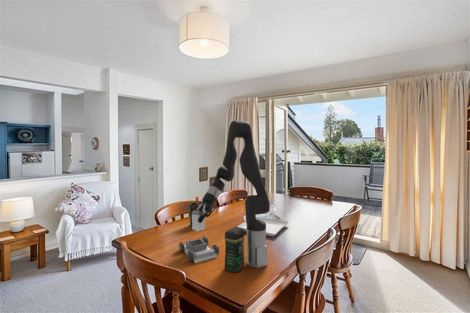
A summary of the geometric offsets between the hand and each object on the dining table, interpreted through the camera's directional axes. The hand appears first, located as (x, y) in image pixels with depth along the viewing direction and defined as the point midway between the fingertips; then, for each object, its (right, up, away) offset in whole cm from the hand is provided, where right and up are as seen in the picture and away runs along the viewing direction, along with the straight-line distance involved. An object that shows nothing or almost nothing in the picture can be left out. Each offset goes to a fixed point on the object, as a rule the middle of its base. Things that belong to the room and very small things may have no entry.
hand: (195, 221), depth 138 cm
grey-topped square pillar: (+1, -5, +2) cm, 5 cm away
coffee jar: (+21, -17, -20) cm, 33 cm away
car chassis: (+2, -16, -3) cm, 16 cm away
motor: (-5, -14, +41) cm, 44 cm away
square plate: (+41, -14, +33) cm, 54 cm away
